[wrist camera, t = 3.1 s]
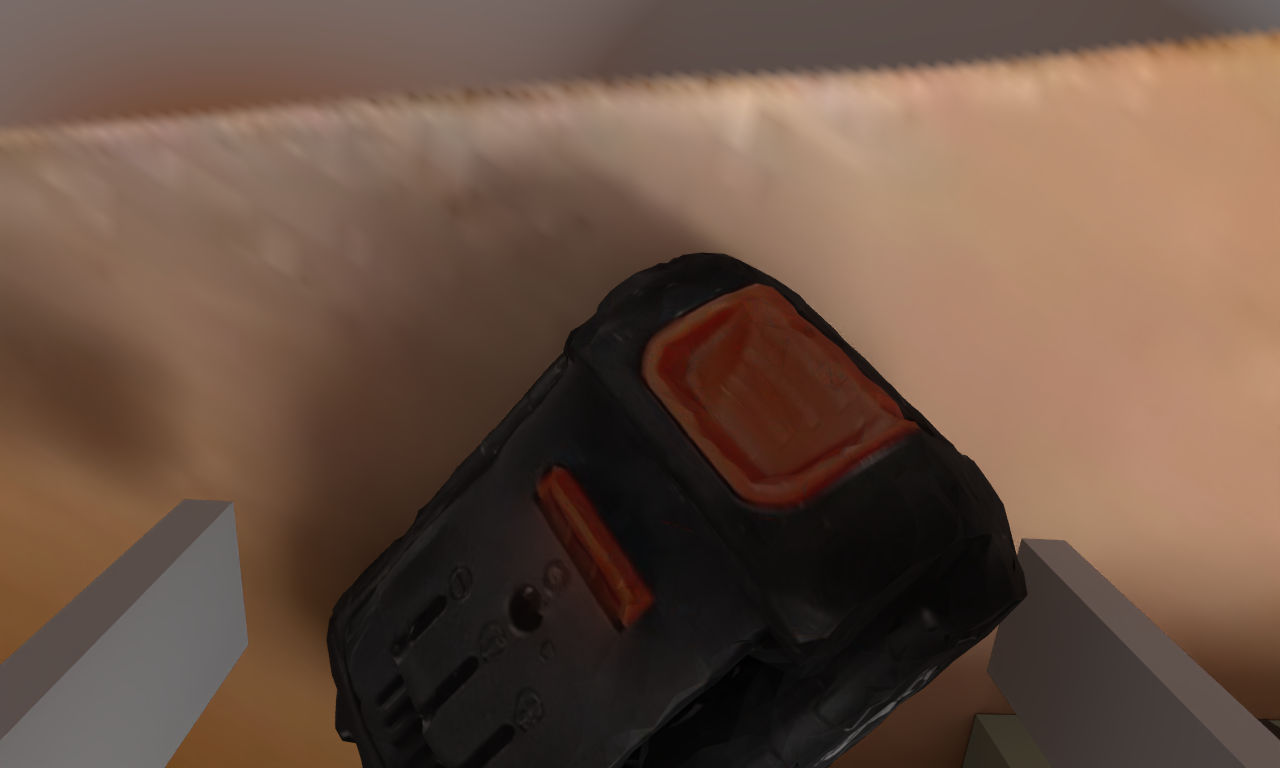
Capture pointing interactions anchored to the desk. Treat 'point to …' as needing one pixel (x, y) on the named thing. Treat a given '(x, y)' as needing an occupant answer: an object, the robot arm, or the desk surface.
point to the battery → (678, 553)
